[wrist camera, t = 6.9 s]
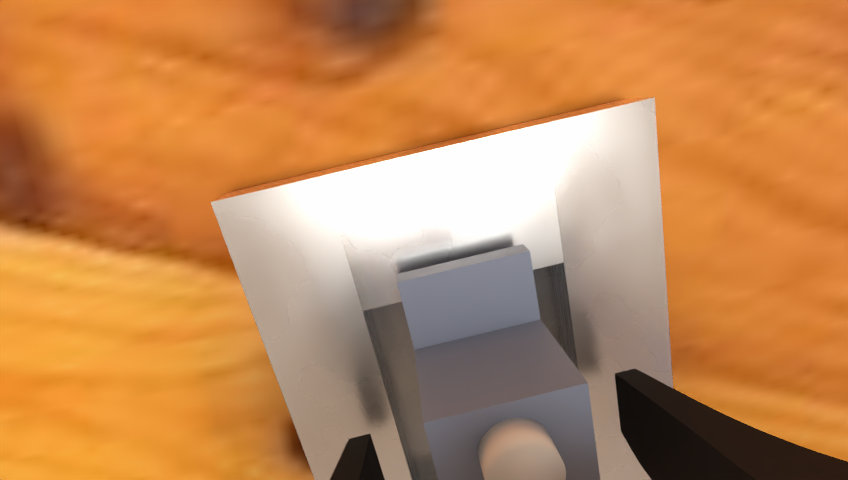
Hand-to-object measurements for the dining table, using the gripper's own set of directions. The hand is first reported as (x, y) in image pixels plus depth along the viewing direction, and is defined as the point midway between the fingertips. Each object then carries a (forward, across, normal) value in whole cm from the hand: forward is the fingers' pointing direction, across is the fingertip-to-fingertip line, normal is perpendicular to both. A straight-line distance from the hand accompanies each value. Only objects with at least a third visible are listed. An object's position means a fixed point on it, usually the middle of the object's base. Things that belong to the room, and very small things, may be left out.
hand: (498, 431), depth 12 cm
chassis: (+3, 0, 0) cm, 3 cm away
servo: (+3, 0, 0) cm, 3 cm away
